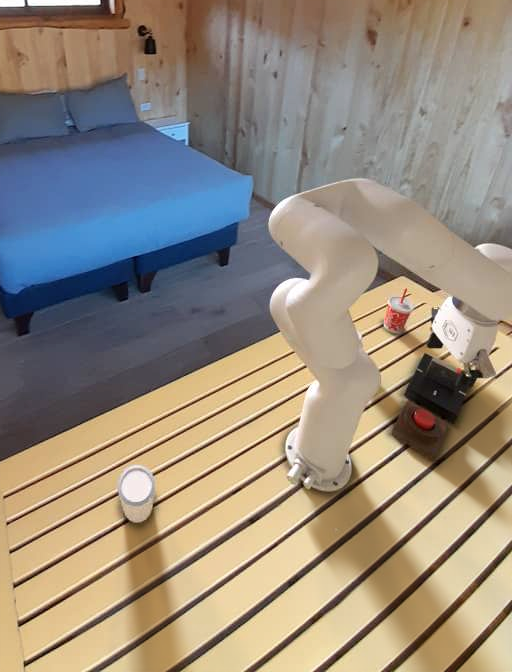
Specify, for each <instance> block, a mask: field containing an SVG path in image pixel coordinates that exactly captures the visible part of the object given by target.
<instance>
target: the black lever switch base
mask: <svg viewBox="0 0 512 672" xmlns="http://www.w3.org/2000/svg"><path fill="white" fill-rule="evenodd" d="M432 358H433V356H432V355H430V354H429V353H427V352H423V355H422V357H421V359H420V361H419V363H418V365H417V367H416V368H415V370H414V373H413V375H412V376H411V379H410V380H409V383H408V384H407V387H406V389H405V391H404V394H403V396H404V397H406V398H407V399H408V400H410V401H412V402H413V403H415V404H417V405H419V406H420V407H422V408H424V409H426V410H427V411H429V412H431V413H432V414H434V415H436V416H438V417H439V418H441V419H443V420H444V421H446V422H448V423H451V424H452V425H454V424H455V423H456V421H457V420H458V417H459V415H460V412H461V409H462V407H463V403H464V401H465V398H466V397H467V392H468V389H469V388H466V387H456V389H455V391H452V390H450V389H449V388H447V387H445V386H443V385H441V384H439V383H437V382H436V381H434V380H432V379H430V378H428V377H426V376H425V374H426V372H427V370H428V367H429V365H430V363H431V360H432Z"/></svg>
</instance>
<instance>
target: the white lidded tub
mask: <svg viewBox="0 0 512 672" xmlns="http://www.w3.org/2000/svg"><path fill="white" fill-rule="evenodd" d="M117 492H118V496H119V499H120V504H121V508H122V511H123V513H124V516H125V517H126V518H127V520H128V521H130V522H133V523H142V522H144V521H146V520H147V519H148V518H149V517H150V515H151V513H152V510H153V506H154V499H155V493H156V479H155V477H154V475H153V472H152V471H151V470H150V469H149V468H148V467H146V466H144V465H141V464H132V465H130V466H128V467H127V468H125V469H124V470H123V472H121V474H120V476H119V477H118V480H117Z"/></svg>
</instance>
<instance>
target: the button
mask: <svg viewBox="0 0 512 672" xmlns="http://www.w3.org/2000/svg"><path fill="white" fill-rule="evenodd" d="M424 409H425V408H424ZM424 409H418V410H416V412H415V414H414V416H413V420H414V422H415V423H416V425H418V426H419V427H420V428H422V429H424V430H431V429H432V428H433V426H434V424H435V418H434V417H433V415H432V414H433V413H432V412H431V413H432V414H431V413H429V412H430V411H429V410H427V409H425V410H424ZM426 410H427V411H426ZM428 411H429V412H428Z"/></svg>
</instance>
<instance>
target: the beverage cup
mask: <svg viewBox="0 0 512 672" xmlns="http://www.w3.org/2000/svg"><path fill="white" fill-rule="evenodd" d="M407 291H408V288H404V290H403V294H402V296H401V295H392V296H389V298H388V299H387V304H388V305H387V309H386V311H385V312H386V313H385V317H384V321H383V327H384V329H385V330H386V331H388V332H389V333H391V334H397V335H398V334H401V333H402V332H403V330H404V328H405V326H406V324H407V322H408V320H409V318H410V316H411V313H412V312H413V311H414V309H415V305H414V304H413V302H412V301H410V299H408V298H406V294H407Z"/></svg>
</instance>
